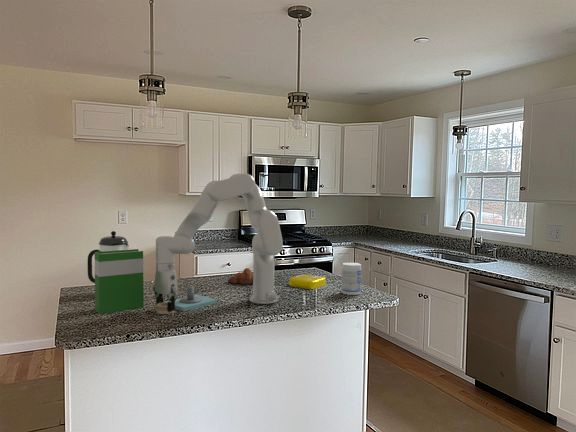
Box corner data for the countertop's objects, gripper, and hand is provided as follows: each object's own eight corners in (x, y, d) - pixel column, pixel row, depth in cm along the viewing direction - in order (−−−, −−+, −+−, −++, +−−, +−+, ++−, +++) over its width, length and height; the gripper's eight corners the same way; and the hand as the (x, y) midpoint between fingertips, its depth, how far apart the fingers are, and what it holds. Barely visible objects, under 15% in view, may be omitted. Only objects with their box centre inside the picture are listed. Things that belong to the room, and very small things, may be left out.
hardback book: (138, 303, 194) (137, 249, 192) (143, 307, 188) (143, 251, 186) (95, 309, 184) (94, 252, 182) (99, 313, 178) (98, 254, 176)
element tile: (303, 281, 246) (303, 273, 246) (326, 285, 238) (327, 276, 237) (287, 286, 234) (288, 277, 234) (311, 290, 225) (312, 281, 225)
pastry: (249, 278, 251) (250, 264, 250) (269, 282, 241) (269, 268, 240) (227, 283, 238) (227, 268, 238) (246, 287, 228) (247, 272, 228)
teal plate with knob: (216, 303, 197) (216, 285, 196) (183, 311, 183) (183, 292, 182) (196, 297, 205) (196, 280, 205) (163, 305, 191) (163, 287, 191)
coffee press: (124, 288, 221) (124, 228, 219) (134, 295, 208) (134, 231, 206) (87, 293, 211) (86, 230, 209) (95, 300, 198) (94, 233, 196)
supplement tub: (361, 296, 213) (362, 265, 212) (341, 295, 214) (342, 265, 213) (360, 291, 223) (360, 262, 222) (341, 290, 224) (341, 261, 223)
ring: (177, 311, 183) (177, 304, 183) (163, 315, 177) (163, 307, 177) (167, 308, 187) (167, 301, 187) (153, 311, 182) (153, 304, 182)
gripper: (186, 268, 178) (186, 311, 180) (160, 262, 189) (160, 303, 191) (170, 270, 173) (170, 315, 174) (145, 265, 184) (145, 307, 185)
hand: (165, 309), depth 182 cm, fingers closed on ring, 7 cm apart
